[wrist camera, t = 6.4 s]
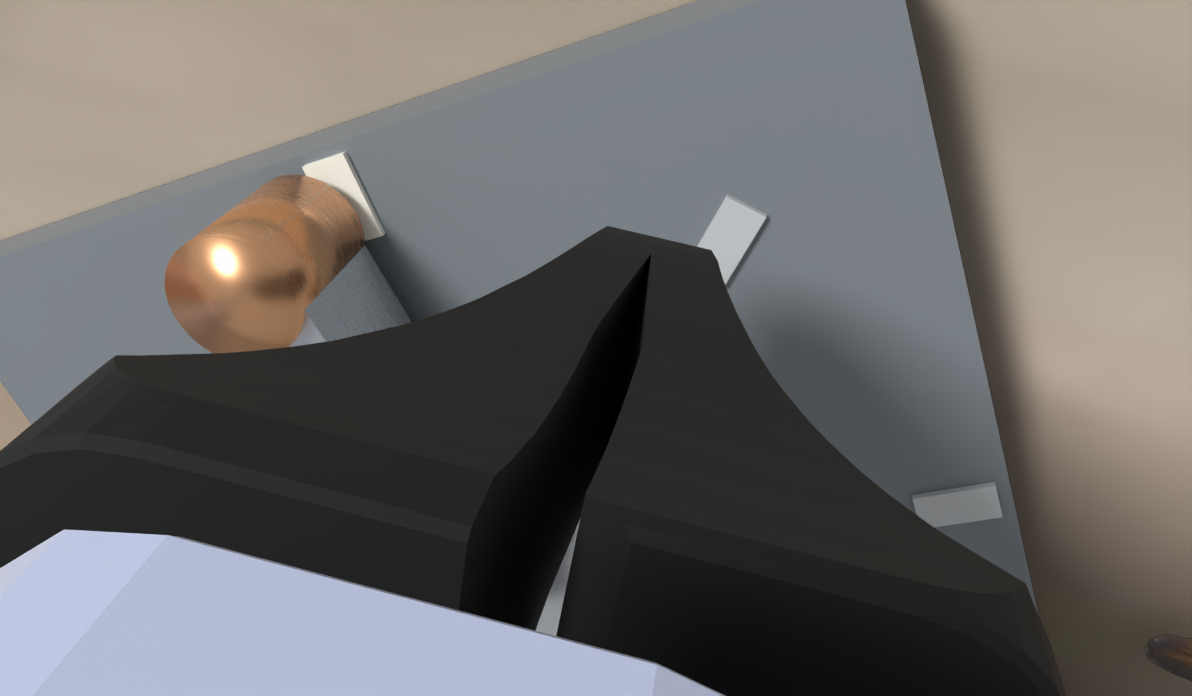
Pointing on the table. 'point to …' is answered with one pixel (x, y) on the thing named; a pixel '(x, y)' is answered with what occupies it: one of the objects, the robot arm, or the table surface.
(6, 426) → the table surface
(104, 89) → the table surface
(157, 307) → the dial board
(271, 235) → the dial
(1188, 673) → the lion figurine
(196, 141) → the table surface
